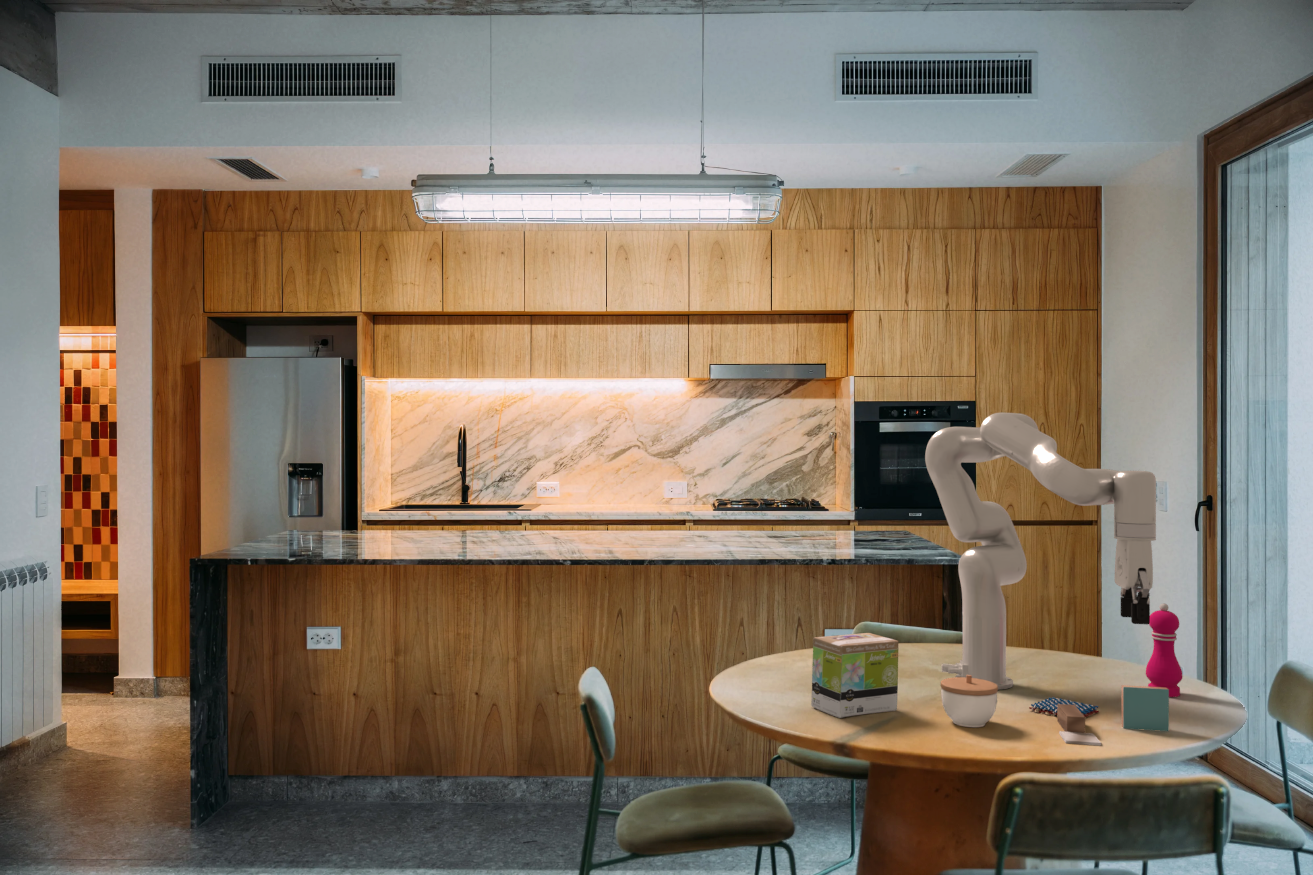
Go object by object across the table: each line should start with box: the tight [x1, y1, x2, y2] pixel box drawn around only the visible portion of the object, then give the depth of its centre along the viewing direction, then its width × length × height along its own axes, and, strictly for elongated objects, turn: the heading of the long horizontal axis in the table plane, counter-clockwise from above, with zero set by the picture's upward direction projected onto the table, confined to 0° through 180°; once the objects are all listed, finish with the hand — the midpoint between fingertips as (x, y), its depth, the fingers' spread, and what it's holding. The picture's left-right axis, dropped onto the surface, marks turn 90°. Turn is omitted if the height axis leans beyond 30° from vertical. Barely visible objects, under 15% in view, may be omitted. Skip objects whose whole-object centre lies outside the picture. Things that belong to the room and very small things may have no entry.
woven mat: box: [1028, 696, 1099, 718], centre depth 195 cm, size 10×11×2 cm
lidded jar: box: [940, 675, 999, 728], centre depth 187 cm, size 11×11×9 cm
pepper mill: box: [1145, 603, 1184, 698], centre depth 211 cm, size 7×7×20 cm
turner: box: [1056, 704, 1102, 747], centre depth 181 cm, size 6×15×4 cm, turn 168°
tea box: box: [810, 632, 900, 719], centre depth 196 cm, size 15×10×15 cm
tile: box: [1120, 684, 1170, 732], centre depth 184 cm, size 8×2×8 cm, turn 78°
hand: (1134, 619), depth 191 cm, fingers open, 7 cm apart
